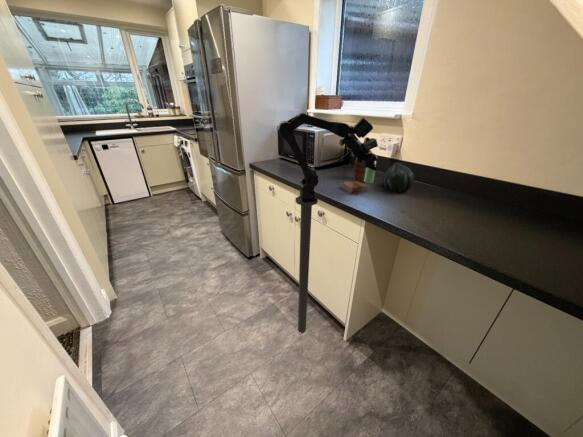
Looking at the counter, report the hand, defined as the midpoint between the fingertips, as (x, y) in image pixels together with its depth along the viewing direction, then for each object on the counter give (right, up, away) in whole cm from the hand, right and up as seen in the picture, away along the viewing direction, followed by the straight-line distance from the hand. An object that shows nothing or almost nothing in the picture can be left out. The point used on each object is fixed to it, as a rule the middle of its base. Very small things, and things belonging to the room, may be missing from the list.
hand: (373, 168), depth 113 cm
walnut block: (-7, -9, +11) cm, 16 cm away
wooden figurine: (+2, -2, +25) cm, 26 cm away
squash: (+16, -9, +12) cm, 22 cm away
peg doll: (-1, -6, +3) cm, 7 cm away
